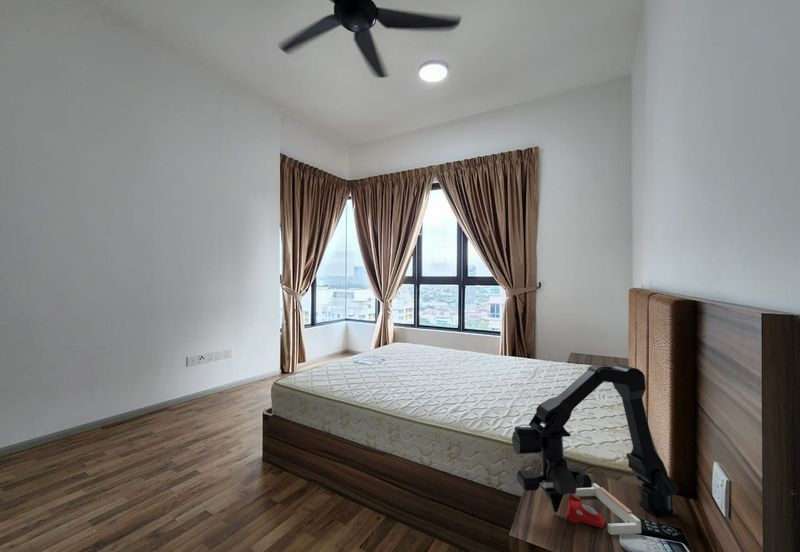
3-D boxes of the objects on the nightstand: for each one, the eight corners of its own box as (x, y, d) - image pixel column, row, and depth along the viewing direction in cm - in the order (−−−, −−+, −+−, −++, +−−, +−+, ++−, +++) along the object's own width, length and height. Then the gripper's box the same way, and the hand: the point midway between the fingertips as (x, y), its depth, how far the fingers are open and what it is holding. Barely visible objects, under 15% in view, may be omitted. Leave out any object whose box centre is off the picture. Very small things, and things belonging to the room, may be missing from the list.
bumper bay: (596, 493, 104) (595, 482, 104) (641, 533, 86) (640, 518, 86) (570, 494, 103) (570, 483, 103) (610, 534, 85) (609, 520, 86)
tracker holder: (614, 519, 90) (590, 521, 85) (608, 535, 90) (585, 538, 86) (573, 487, 101) (551, 487, 96) (568, 501, 101) (546, 501, 96)
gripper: (532, 467, 86) (535, 532, 85) (603, 464, 88) (607, 528, 86) (514, 448, 98) (517, 506, 96) (578, 446, 99) (581, 503, 97)
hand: (555, 511), depth 94 cm, fingers closed
